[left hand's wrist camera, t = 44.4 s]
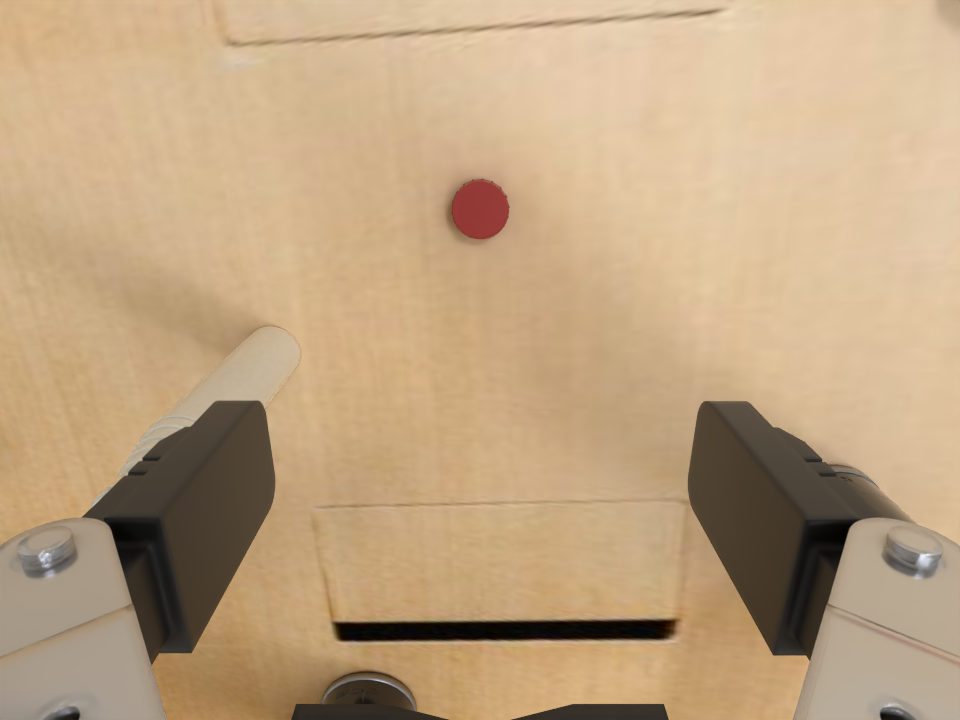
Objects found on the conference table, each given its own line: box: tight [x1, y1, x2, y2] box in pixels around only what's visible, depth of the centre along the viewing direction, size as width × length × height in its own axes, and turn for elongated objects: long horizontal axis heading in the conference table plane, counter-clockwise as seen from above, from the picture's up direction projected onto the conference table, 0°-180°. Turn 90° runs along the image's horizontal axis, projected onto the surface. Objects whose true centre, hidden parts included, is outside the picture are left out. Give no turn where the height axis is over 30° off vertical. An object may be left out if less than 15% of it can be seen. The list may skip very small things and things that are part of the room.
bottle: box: [91, 326, 300, 508], centre depth 36 cm, size 4×4×21 cm
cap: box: [452, 179, 509, 239], centre depth 41 cm, size 4×4×2 cm
